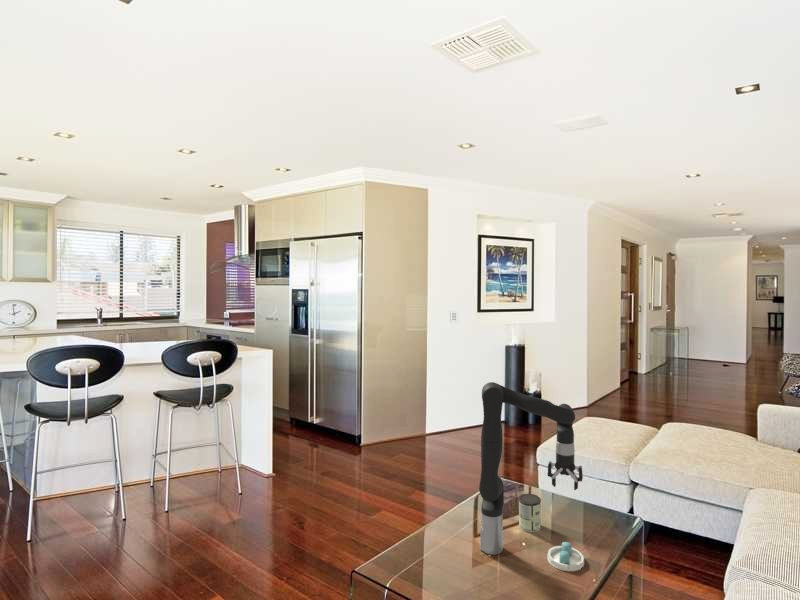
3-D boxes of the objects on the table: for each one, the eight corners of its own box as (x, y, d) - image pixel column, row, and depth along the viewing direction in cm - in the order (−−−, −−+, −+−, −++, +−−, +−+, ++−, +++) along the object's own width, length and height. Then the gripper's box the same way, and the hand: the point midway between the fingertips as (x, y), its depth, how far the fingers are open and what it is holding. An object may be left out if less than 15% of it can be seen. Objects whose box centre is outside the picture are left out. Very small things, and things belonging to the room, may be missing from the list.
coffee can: (522, 519, 257) (522, 491, 255) (543, 524, 251) (543, 496, 250) (515, 528, 248) (515, 500, 247) (536, 534, 242) (536, 505, 241)
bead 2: (559, 565, 217) (559, 555, 217) (560, 560, 221) (560, 550, 221) (569, 567, 216) (569, 557, 215) (570, 562, 219) (570, 552, 219)
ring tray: (544, 566, 218) (544, 561, 218) (550, 547, 232) (550, 542, 232) (582, 574, 212) (582, 569, 212) (585, 554, 226) (585, 549, 225)
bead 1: (561, 555, 224) (561, 545, 224) (562, 550, 228) (562, 541, 227) (571, 557, 222) (571, 547, 222) (571, 552, 226) (572, 542, 226)
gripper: (546, 452, 222) (546, 488, 223) (581, 457, 216) (581, 494, 218) (549, 446, 229) (549, 481, 230) (583, 450, 223) (583, 486, 224)
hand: (564, 487), depth 224 cm, fingers open, 8 cm apart
